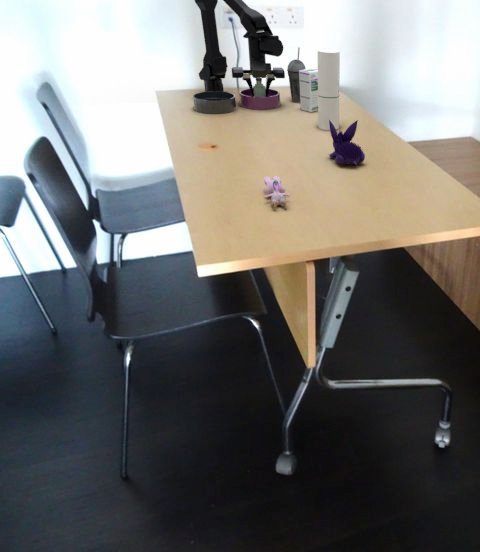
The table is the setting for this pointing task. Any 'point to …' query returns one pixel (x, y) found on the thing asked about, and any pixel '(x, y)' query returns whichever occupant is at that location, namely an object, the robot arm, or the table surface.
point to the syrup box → (309, 89)
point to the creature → (346, 146)
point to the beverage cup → (295, 78)
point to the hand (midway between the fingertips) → (259, 96)
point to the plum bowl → (259, 100)
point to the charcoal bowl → (214, 102)
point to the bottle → (259, 88)
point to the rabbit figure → (275, 191)
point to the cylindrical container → (328, 88)
